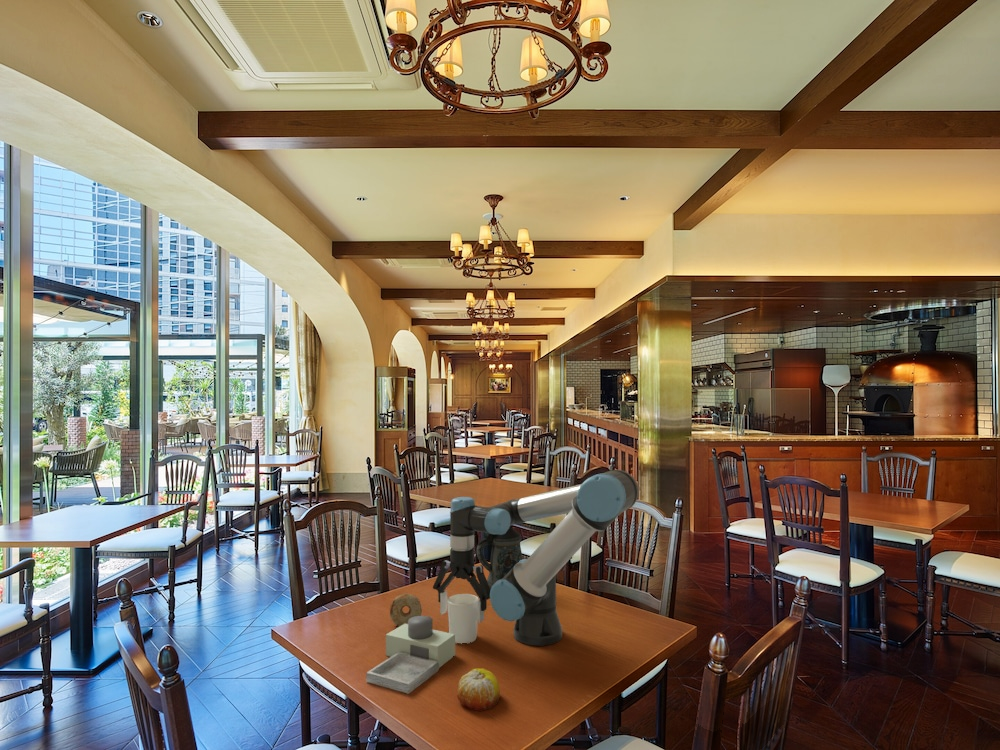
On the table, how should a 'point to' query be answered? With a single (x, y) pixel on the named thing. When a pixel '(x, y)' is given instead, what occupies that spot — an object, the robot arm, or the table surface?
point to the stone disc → (397, 606)
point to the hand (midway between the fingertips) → (461, 616)
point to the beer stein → (500, 554)
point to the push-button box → (421, 640)
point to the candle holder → (463, 617)
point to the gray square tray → (402, 672)
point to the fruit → (478, 689)
